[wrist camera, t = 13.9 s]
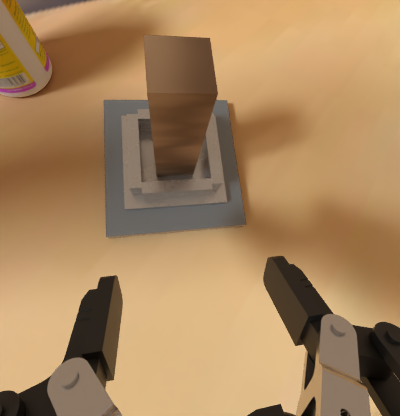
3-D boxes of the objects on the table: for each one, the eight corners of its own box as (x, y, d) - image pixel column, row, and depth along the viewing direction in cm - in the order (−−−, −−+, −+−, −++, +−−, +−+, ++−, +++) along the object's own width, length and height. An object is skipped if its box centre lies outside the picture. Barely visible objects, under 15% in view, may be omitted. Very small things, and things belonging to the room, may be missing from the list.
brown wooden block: (156, 176, 22) (147, 93, 11) (154, 142, 22) (143, 34, 12) (193, 174, 22) (217, 93, 12) (189, 142, 23) (209, 38, 12)
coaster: (108, 238, 21) (106, 236, 20) (106, 106, 24) (103, 100, 23) (242, 226, 23) (246, 224, 22) (224, 106, 26) (227, 100, 26)
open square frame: (125, 210, 21) (120, 203, 19) (122, 119, 23) (117, 101, 21) (225, 203, 23) (232, 196, 20) (214, 118, 25) (219, 102, 22)
